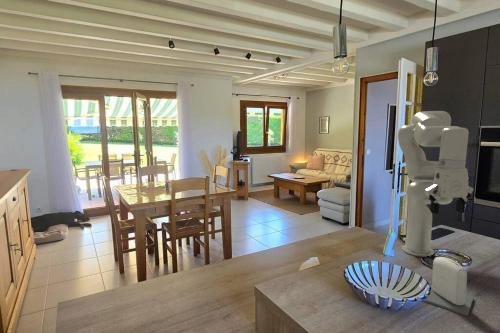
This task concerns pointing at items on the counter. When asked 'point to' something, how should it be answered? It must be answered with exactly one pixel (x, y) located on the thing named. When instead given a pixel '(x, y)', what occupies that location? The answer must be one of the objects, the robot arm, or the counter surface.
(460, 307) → the mat
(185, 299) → the counter surface
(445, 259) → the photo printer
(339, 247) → the counter surface
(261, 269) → the counter surface
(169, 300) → the counter surface
